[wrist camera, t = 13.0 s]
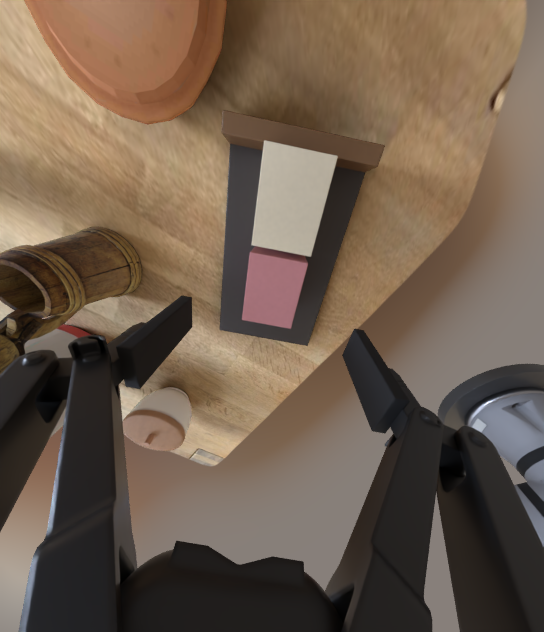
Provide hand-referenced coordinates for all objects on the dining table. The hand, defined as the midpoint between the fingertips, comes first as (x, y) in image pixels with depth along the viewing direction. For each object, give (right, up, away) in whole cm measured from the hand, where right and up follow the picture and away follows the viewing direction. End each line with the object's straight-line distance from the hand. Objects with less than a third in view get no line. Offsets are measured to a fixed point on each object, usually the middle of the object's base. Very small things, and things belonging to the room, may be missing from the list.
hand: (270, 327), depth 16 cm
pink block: (0, +6, +10) cm, 12 cm away
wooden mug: (-24, +7, +13) cm, 28 cm away
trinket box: (-20, -16, +25) cm, 36 cm away
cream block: (+2, +13, +6) cm, 15 cm away
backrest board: (+1, +8, +10) cm, 13 cm away
